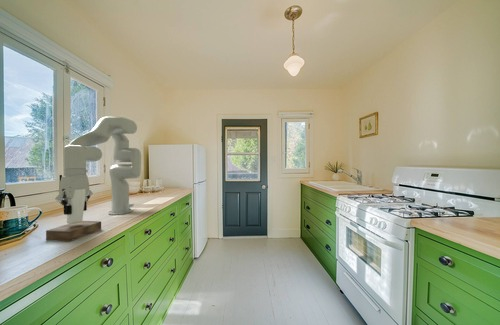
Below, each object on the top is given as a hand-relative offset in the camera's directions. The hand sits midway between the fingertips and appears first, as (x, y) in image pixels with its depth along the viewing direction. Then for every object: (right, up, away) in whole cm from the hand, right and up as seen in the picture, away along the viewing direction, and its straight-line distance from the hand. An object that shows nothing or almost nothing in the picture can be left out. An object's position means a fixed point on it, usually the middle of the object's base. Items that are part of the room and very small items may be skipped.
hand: (75, 212), depth 87 cm
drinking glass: (0, -5, 0) cm, 5 cm away
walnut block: (0, -10, 0) cm, 10 cm away
